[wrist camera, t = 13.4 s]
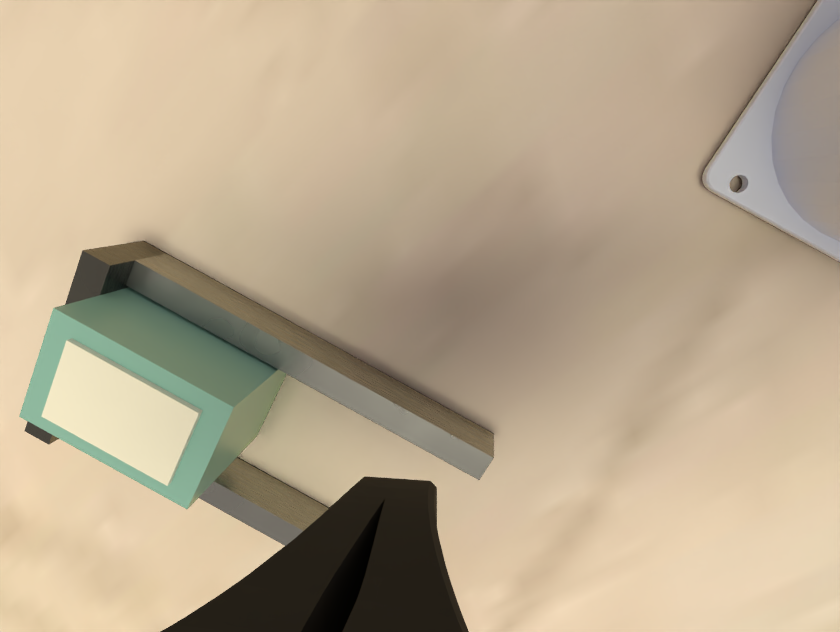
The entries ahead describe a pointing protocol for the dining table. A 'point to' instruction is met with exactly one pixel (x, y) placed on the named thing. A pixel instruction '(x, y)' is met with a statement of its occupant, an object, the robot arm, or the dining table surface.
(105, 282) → the rail
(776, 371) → the dining table surface
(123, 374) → the module
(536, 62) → the dining table surface
